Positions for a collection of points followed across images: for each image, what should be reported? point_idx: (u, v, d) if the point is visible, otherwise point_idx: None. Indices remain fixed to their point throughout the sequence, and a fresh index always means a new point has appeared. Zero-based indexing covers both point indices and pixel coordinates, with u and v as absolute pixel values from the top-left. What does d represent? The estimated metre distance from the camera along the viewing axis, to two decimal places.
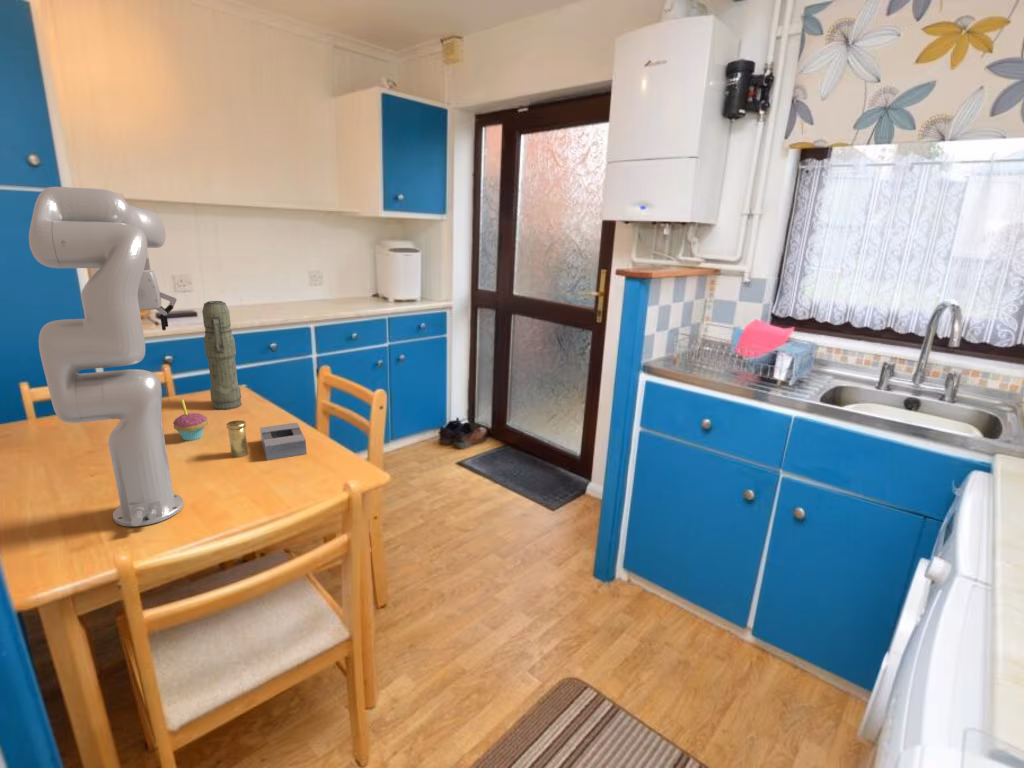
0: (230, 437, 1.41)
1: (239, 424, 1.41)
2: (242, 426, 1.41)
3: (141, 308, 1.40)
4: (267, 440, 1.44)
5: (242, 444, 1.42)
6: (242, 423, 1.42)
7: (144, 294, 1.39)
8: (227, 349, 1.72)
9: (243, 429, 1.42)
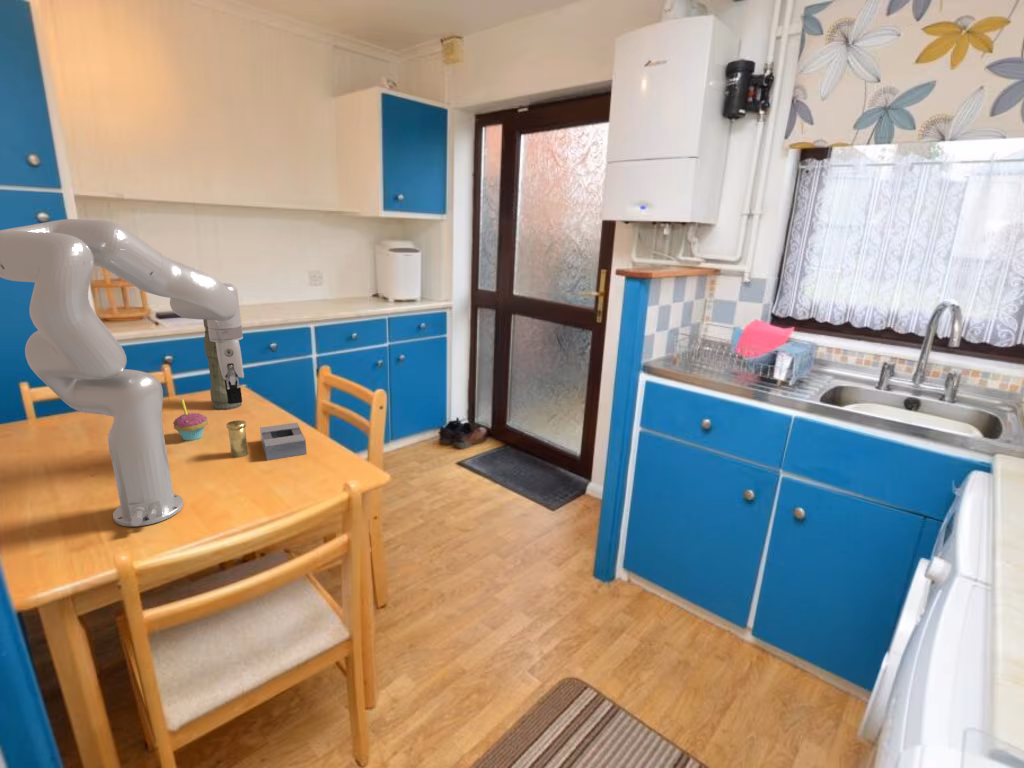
0: (230, 437, 1.41)
1: (239, 424, 1.41)
2: (242, 426, 1.41)
3: None
4: (267, 440, 1.44)
5: (242, 444, 1.42)
6: (242, 423, 1.42)
7: None
8: None
9: (243, 429, 1.42)
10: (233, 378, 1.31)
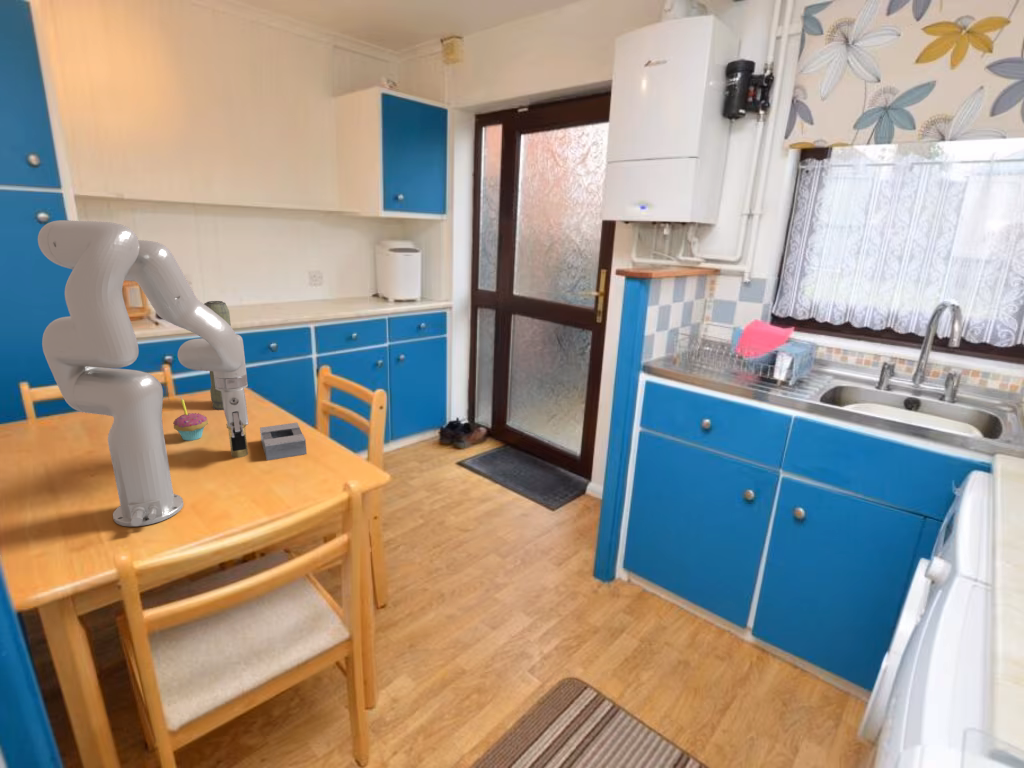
0: (230, 437, 1.41)
1: None
2: None
3: None
4: (267, 440, 1.44)
5: None
6: (242, 423, 1.42)
7: None
8: None
9: (243, 429, 1.42)
10: (238, 431, 1.37)
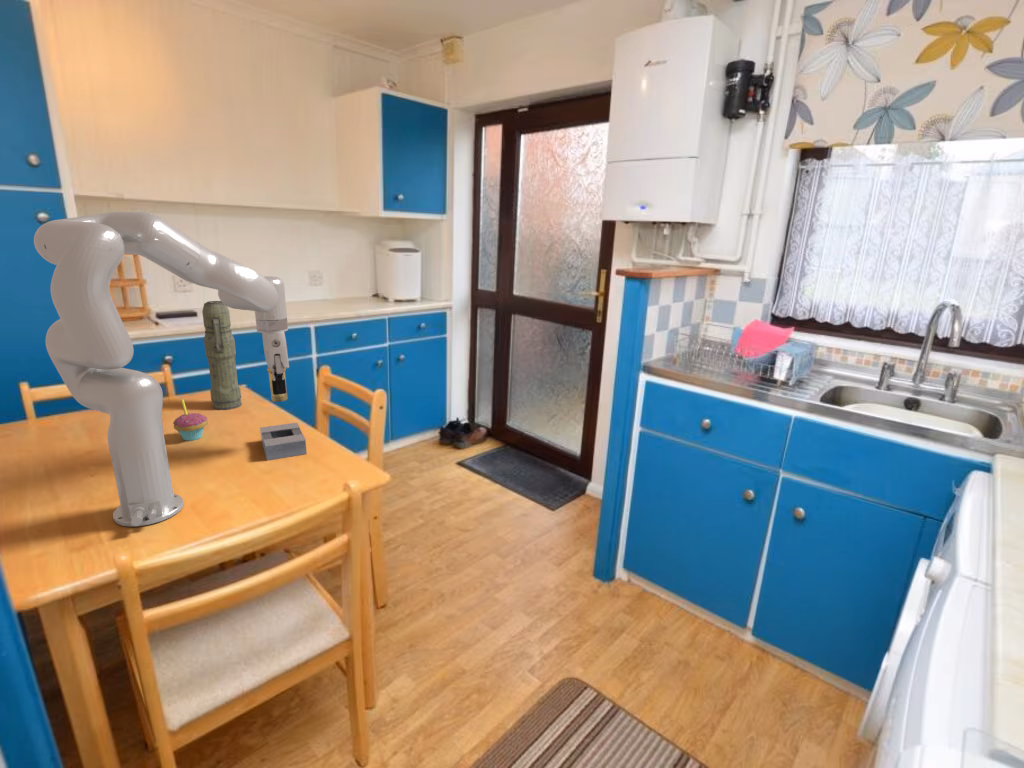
0: (271, 381, 1.42)
1: None
2: None
3: None
4: (267, 440, 1.44)
5: None
6: None
7: None
8: (227, 349, 1.72)
9: None
10: (280, 373, 1.38)
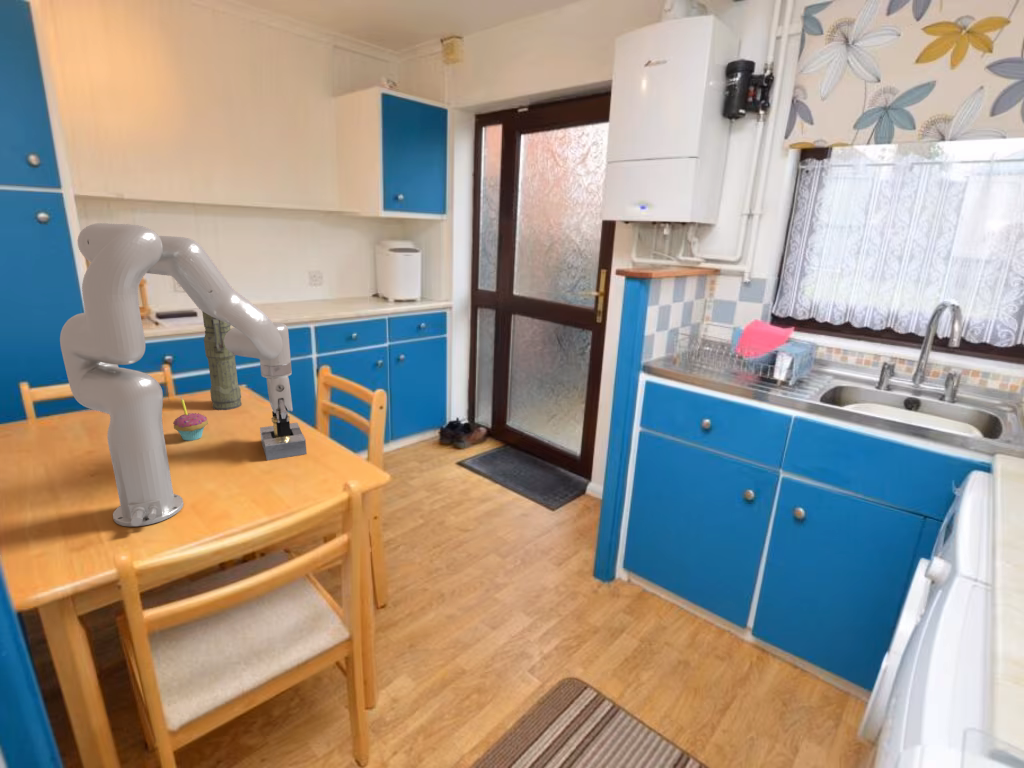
0: (275, 431, 1.46)
1: None
2: None
3: None
4: (267, 440, 1.44)
5: None
6: None
7: None
8: None
9: None
10: (284, 413, 1.39)
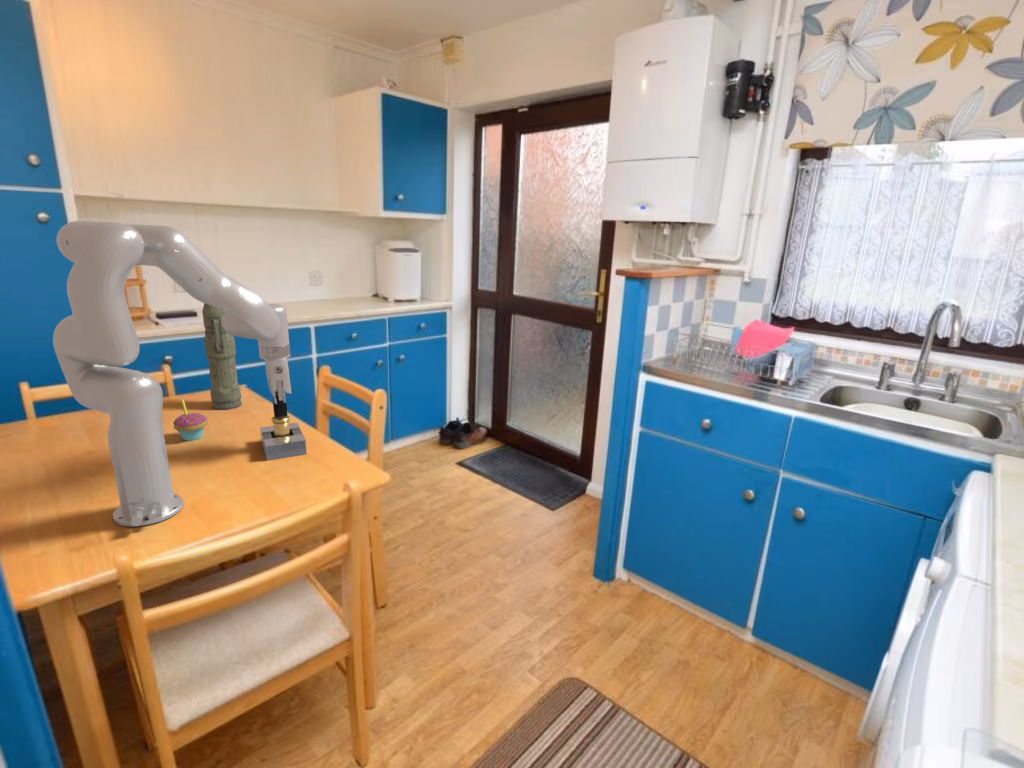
0: (275, 431, 1.46)
1: (283, 418, 1.47)
2: (286, 420, 1.46)
3: None
4: (267, 440, 1.44)
5: None
6: (286, 418, 1.47)
7: None
8: (227, 349, 1.72)
9: (287, 423, 1.47)
10: (282, 400, 1.42)
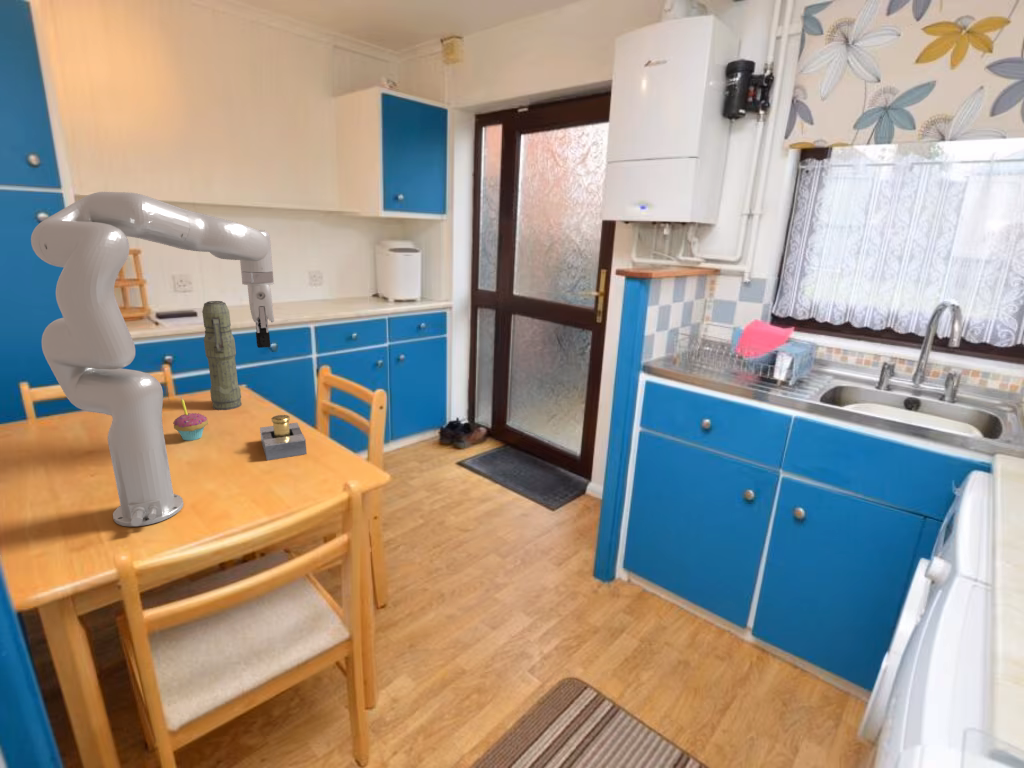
0: (275, 431, 1.46)
1: (283, 418, 1.47)
2: (286, 420, 1.46)
3: None
4: (267, 440, 1.44)
5: None
6: (286, 418, 1.47)
7: None
8: (227, 349, 1.72)
9: (287, 423, 1.47)
10: (264, 328, 1.40)
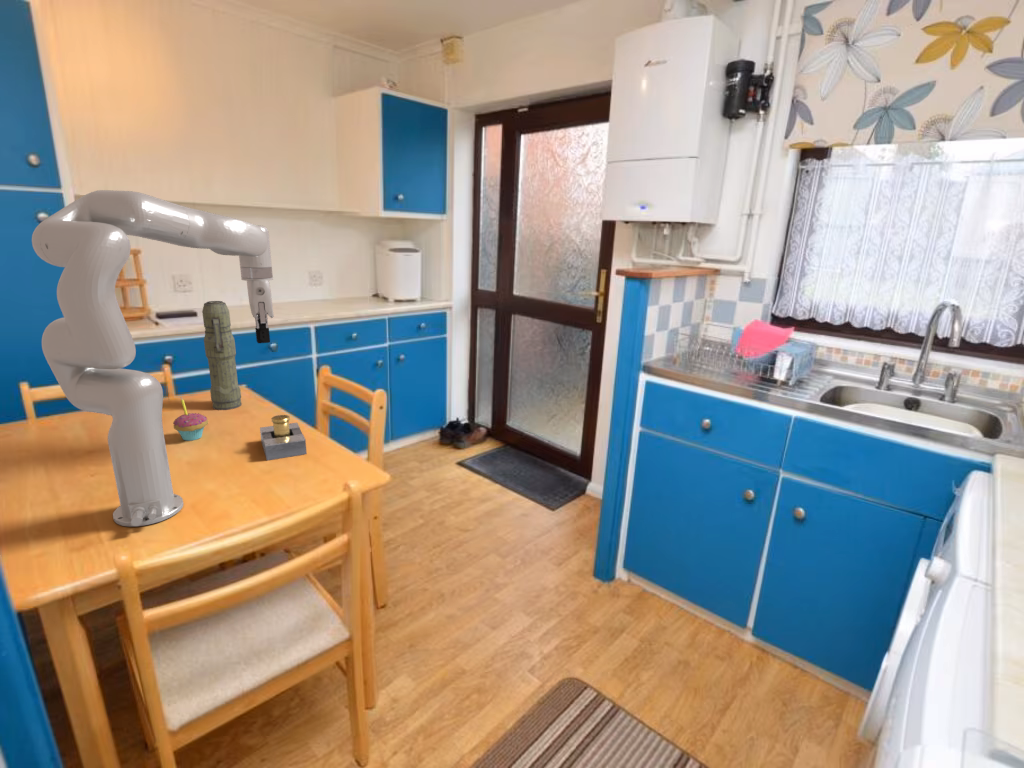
0: (275, 431, 1.46)
1: (283, 418, 1.47)
2: (286, 420, 1.46)
3: None
4: (267, 440, 1.44)
5: None
6: (286, 418, 1.47)
7: None
8: (227, 349, 1.72)
9: (287, 423, 1.47)
10: (264, 323, 1.40)
